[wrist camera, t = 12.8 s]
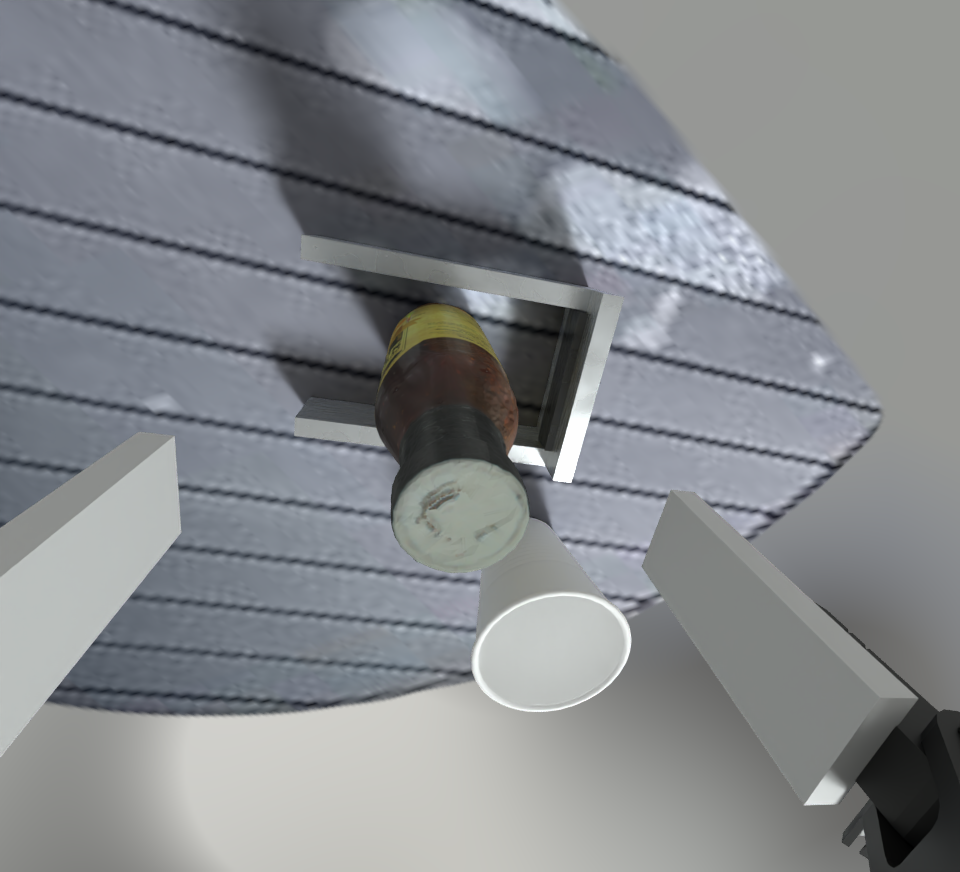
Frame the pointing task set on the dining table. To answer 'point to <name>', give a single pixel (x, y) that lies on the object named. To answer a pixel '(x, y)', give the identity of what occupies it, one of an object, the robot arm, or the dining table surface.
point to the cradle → (584, 314)
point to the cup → (545, 628)
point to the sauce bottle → (450, 442)
